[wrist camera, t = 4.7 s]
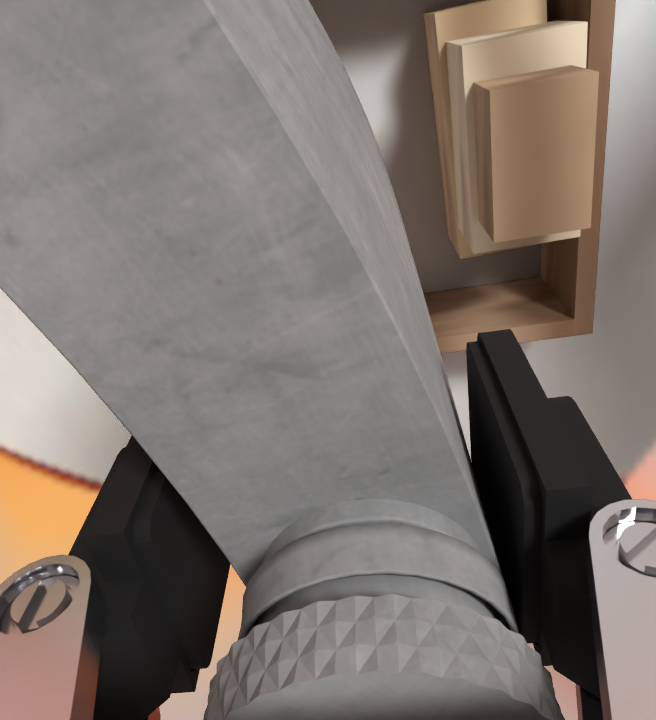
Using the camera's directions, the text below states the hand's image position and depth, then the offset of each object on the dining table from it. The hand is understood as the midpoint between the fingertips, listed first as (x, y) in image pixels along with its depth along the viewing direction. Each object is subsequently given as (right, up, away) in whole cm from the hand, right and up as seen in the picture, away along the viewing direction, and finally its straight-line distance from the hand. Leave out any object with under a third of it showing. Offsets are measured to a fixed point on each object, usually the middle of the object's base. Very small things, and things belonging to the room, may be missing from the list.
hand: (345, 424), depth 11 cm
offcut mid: (+8, +12, +19) cm, 24 cm away
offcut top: (+8, +10, +16) cm, 21 cm away
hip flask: (0, +7, +12) cm, 14 cm away
